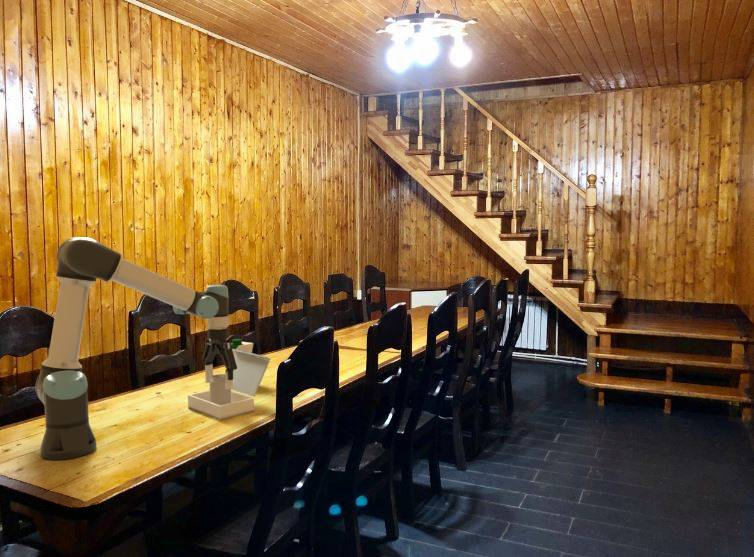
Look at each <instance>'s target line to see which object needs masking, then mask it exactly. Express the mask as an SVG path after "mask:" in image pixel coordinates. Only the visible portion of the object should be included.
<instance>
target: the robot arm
mask: <svg viewBox="0 0 754 557" xmlns="http://www.w3.org/2000/svg"><path fill="white" fill-rule="evenodd" d="M56 260H57V269H56V275H55V278H56V279H57V281H59V284H60V285H59V288H58V297H57V302H56V308H55V314H54V320H53V326H52V332H51V339H50V343H49V350H48V354H47V355H48V356H47V358H46V359H45V360H43V361H42V362H41V365H40V371H39V375H38V376H37V379H36V381H35V387H34V388H35V389H34V390H35V394H36V396H37V397H38V400H40V401H41V403H42V404H43V405H44V419H45V430H44V434H43V438H42V442H41V445H40V448H39V449H40V451H39V452H40V457H41V458H42V459H44V460H50V461H58V460H59V461H60V460H61V461H62V460H71V459H76V458H79V457H83V456H86V455H89V454H91V453H92V452H94V451H95V450H96V449H97V438H96V437H95V435H94V434H95V433H94V432H93V430H92V428H91V425H90V420H89V419H90V418H89V399H88V398H89V396H88V387H89V384H88V383H89V382H88V380H87V377H86V375H85V373H83V372H82V371H83V370H82V369H83V365H82V364H81V363H80V362H79V356H80V349H81V345H82V344H81V343H82V337H83V330H84V325H85V318H86V314H87V313H86V312H87V306H88V300H89V295H90V288H91V286H92V285H94V284H95V283H96V282H97V279H98V280H101V281H104V282H106V283H109V282H115V283H117V284H120V285H122V286H124V287H126V288H129V289H132V290H134V291H135V292H139V293H141V294H142V295H143V294H144V295H146V296H147V297H150V298H153V299H155V300H158V301H160V302H163V303H165V304H168V305H169V306H172V310H173V312H174V313H175V314H176V315H192V316H196V317H199V318H201V319H203V320H204V319H206V320H207V321H206V325H207V338H206V339H205V345H204V348H203V353H202V357H201V363H203V364H204V367H205V368H204V372H205V376H204V377H205V378H204V379H205V383H206V384H210V379H211V376H213V375H214V366H213V365H214V363H213V361H214V359H215V357H216V355H218V356H219V357H220V358H221V360H222V362H223V365H224V368H225V373H224V374H225V387H226V389H232V388H233V371H234V370H235V369H237V365H236V361H235V358H234V354H233V351H232V342H227V339H229V337H230V329H229V325H230V324H229V299H230V298H229V289H228V286H227V285H225V284H212V285H211V284H210V285H207V287H206V290H204V291H197V290H195V289H193V288H191V287H188V286H186V285H184V284H182V283H179V282H177V281H175V280H172V279H171V278H168V277H166V276H164V275H161V274H159V273H157V272H154V271H152V270H150V269H148V268H145V267H143V266H141V265H139V264H137V263H135V262H133V261H129V260H127V259H125V258H124V257H123V254H122V253H120V252H118V251H115V250H113V249H112V248H110V247H108V246H107V245H104V244H103V243H101V242H100V241H97V240H96V239H94V238H90V237H83V236H81V237H80V236H74V237H70V238H68V239H66V240H65V241H63V243H61V244H60V246H59V247H58V250H57V253H56Z"/></svg>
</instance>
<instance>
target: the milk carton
mask: <svg viewBox="0 0 754 557" xmlns="http://www.w3.org/2000/svg"><path fill="white" fill-rule="evenodd" d="M231 343H232V351H233V349H236V350H240V351H244V352H249V353H253V348H254V343H253V342H248V341H247V342H246V341H243V339H241V338H234V339H231ZM236 353H237V352H236ZM233 354H234V355H235V351H233ZM240 354H241V353H240ZM244 355H245V354H244ZM248 356H249V355H248Z"/></svg>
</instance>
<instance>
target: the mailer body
mask: <svg viewBox="0 0 754 557" xmlns="http://www.w3.org/2000/svg"><path fill="white" fill-rule="evenodd" d="M187 406H188V407H187V408H188V409H190V410H192V411H193V412H198V413H200V414H202V415H206V416H208V417H210V418H213V419H215V420H218V421H224V420H227V419H231V418H235V417H239V416H242V415H247V414H250V413H255V398H254V397H253V396H249V395H248V396H247V395H246V394H243V393H240V392H237V391H234V390H231V403H229V404H225V405H221V406H220V405H217V404H214V403H211V402H210V389H209V390H205V391H199V392H195V393H191V394H187Z"/></svg>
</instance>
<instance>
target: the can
mask: <svg viewBox="0 0 754 557" xmlns="http://www.w3.org/2000/svg"><path fill="white" fill-rule="evenodd" d="M209 390H210V402H211V403H214V404H217V405H220V406H221V405H225V404H229V403H231V391H232V390H231V389H226V387H225V373H224V374H223V373H220V374H219V373H218V374H213V376H211V379H210V383H209Z"/></svg>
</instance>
